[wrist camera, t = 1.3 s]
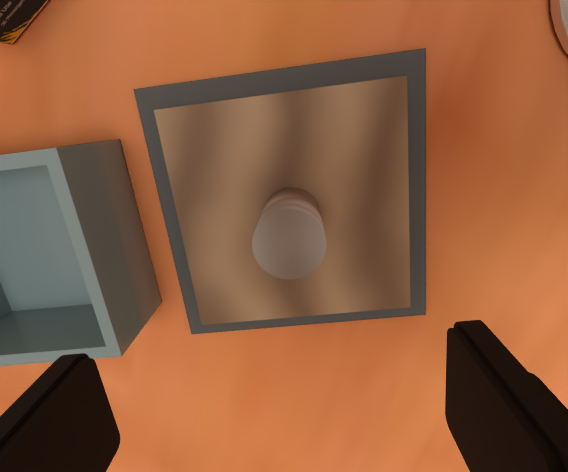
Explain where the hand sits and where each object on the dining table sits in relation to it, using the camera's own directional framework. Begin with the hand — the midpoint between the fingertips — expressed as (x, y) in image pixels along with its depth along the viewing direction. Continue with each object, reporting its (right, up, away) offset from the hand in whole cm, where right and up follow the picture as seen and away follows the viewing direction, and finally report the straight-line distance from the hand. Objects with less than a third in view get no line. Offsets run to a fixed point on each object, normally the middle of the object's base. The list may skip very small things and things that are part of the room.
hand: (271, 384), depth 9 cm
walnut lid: (+1, +6, +17) cm, 18 cm away
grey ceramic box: (-17, +4, +18) cm, 25 cm away
